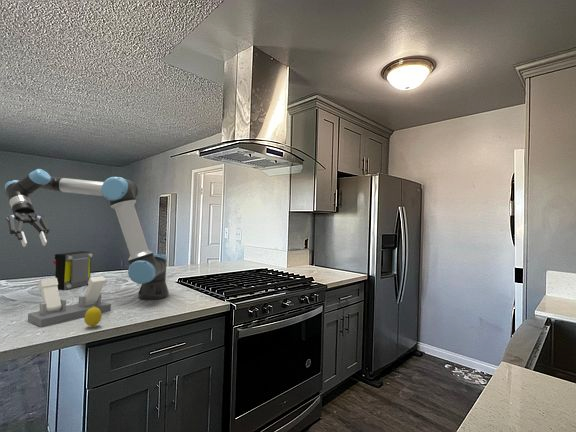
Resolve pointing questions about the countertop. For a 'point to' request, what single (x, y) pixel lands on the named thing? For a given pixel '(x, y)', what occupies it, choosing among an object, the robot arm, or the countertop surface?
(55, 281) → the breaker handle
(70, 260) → the electrical component
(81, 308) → the block
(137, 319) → the countertop surface
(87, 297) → the lever
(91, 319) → the lemon
